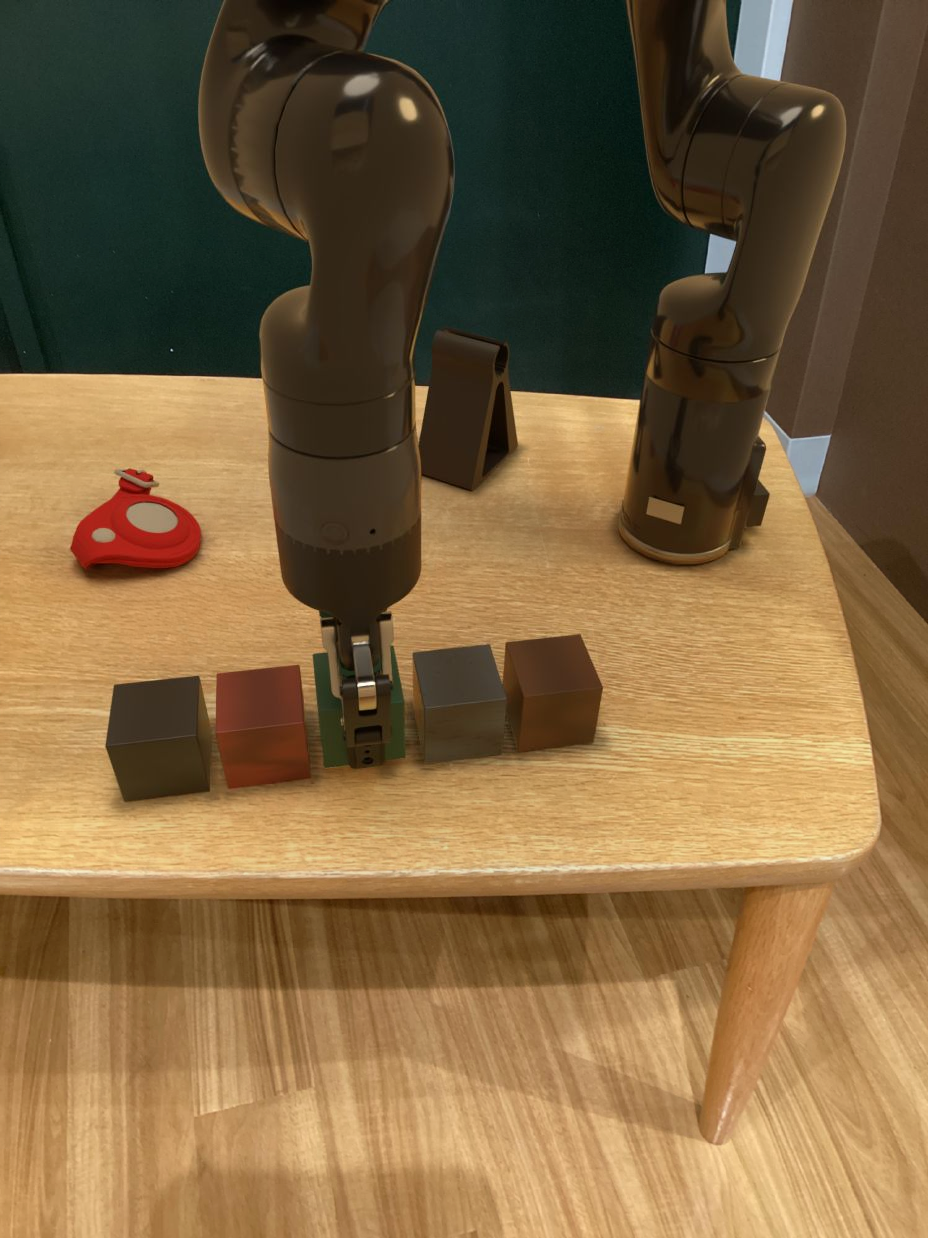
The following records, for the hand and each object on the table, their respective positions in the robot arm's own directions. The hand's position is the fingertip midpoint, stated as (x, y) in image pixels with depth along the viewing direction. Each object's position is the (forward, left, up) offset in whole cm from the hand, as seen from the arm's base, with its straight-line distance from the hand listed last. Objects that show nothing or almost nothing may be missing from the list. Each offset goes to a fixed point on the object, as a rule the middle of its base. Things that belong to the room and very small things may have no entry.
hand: (362, 729), depth 58 cm
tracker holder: (+15, -25, -1) cm, 29 cm away
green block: (0, 0, 0) cm, 0 cm away
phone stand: (-13, -33, -1) cm, 36 cm away
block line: (0, 0, -1) cm, 1 cm away
